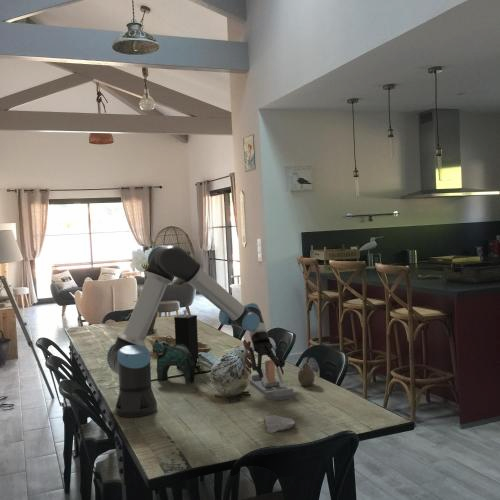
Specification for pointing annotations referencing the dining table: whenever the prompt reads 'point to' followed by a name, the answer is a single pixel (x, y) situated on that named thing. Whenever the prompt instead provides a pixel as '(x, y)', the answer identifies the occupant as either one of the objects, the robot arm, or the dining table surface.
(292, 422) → the stone
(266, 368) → the fader knob
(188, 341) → the black rectangular column
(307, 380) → the vase
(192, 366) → the teal animal figurine
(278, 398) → the console board
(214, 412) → the dining table surface
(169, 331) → the dining table surface
